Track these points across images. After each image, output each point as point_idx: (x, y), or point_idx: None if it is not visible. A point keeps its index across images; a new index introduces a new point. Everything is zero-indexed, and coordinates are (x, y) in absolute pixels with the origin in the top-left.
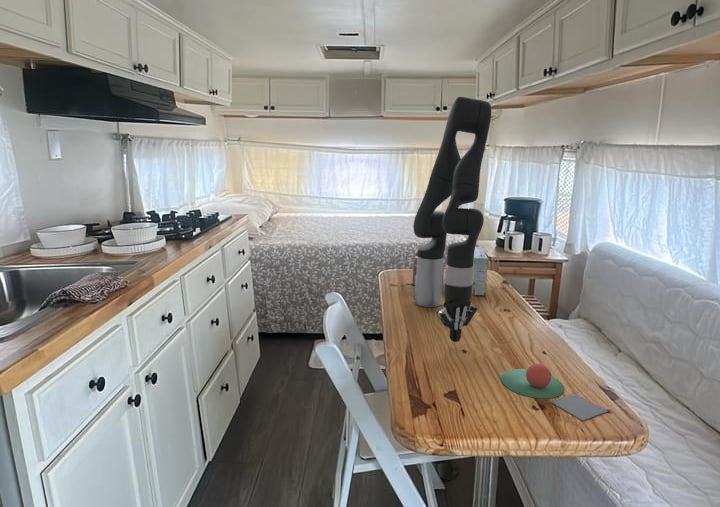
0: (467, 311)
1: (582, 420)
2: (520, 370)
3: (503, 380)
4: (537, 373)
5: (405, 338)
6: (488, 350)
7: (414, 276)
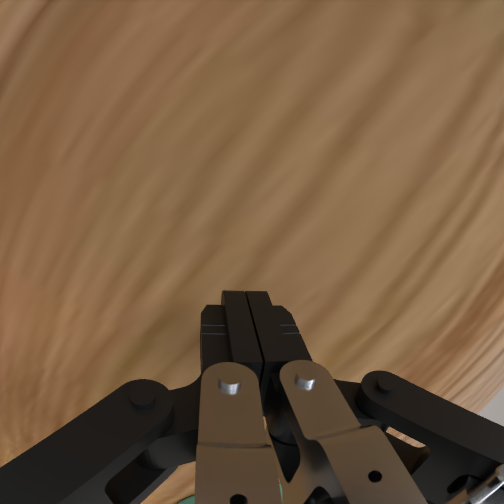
0: (456, 494)
1: None
2: (281, 488)
3: (189, 501)
4: None
5: (12, 29)
6: None
7: None
